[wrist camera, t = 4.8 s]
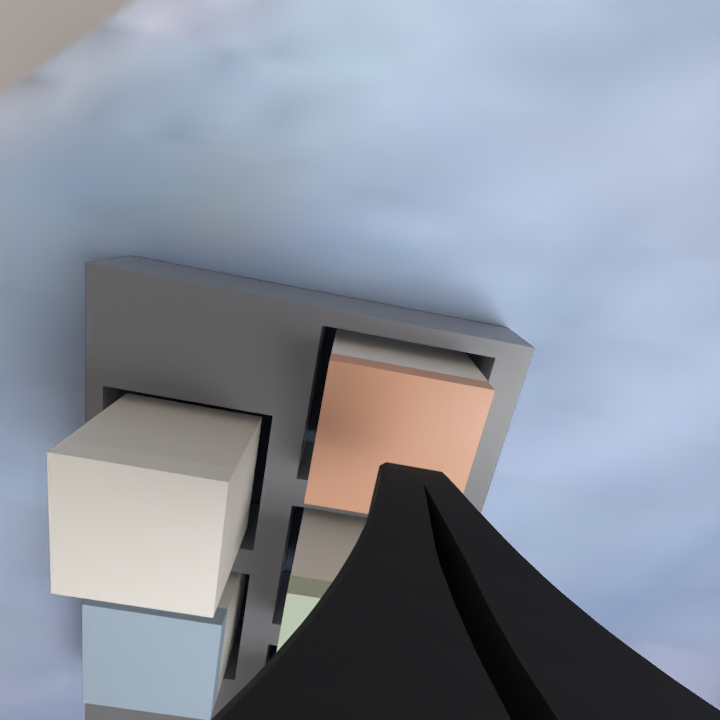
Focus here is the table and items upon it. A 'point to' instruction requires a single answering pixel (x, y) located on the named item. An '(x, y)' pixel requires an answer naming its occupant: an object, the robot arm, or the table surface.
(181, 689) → the blue key
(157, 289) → the keypad board
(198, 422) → the cream key
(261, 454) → the table surface
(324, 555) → the sage key
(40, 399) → the table surface
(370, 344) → the terracotta key
